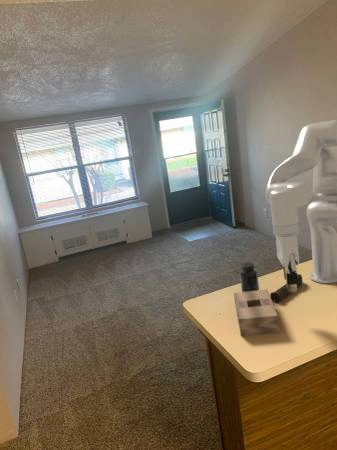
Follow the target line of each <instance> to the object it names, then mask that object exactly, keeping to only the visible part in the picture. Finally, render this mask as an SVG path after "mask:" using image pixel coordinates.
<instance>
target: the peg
mask: <svg viewBox="0 0 337 450" xmlns="http://www.w3.org/2000/svg"><path fill="white" fill-rule="evenodd" d="M289 264H290V263H289ZM289 268H291V266H290V267H289ZM286 273H287V267H285V274H286ZM285 282H286V283H285V284H287V276H286V281H285ZM297 290H298V289H297V285H296V284H292V285H288V284H287V291H288V292H290V293H295V292H297Z"/></svg>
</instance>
